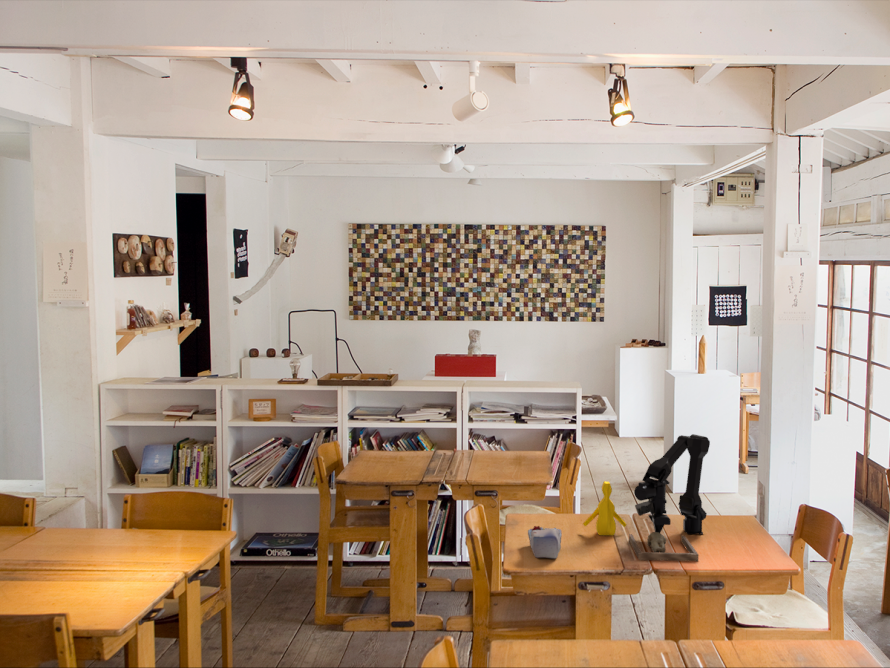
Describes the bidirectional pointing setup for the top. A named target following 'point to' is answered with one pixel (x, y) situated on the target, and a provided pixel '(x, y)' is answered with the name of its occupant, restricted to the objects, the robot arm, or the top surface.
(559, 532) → the grey tapered container
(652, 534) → the sculpture
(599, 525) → the figure statuette
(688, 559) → the holder
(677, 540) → the top surface
